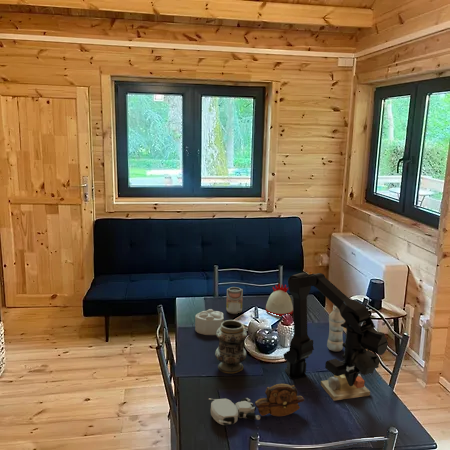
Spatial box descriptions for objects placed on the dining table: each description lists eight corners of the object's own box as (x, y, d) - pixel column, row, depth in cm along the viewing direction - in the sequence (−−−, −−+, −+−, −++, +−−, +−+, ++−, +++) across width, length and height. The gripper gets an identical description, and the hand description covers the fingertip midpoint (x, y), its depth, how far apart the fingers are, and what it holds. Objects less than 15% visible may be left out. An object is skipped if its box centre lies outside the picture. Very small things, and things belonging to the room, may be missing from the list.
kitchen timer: (290, 318, 218) (292, 289, 215) (263, 314, 222) (264, 286, 219) (294, 308, 232) (295, 280, 228) (268, 304, 235) (269, 278, 232)
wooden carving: (258, 423, 139) (259, 394, 137) (253, 414, 143) (254, 386, 141) (305, 414, 144) (307, 387, 142) (299, 406, 148) (301, 379, 146)
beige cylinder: (242, 315, 220) (243, 292, 218) (225, 315, 220) (226, 292, 218) (242, 308, 229) (242, 286, 227) (226, 308, 229) (226, 286, 227)
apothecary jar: (252, 367, 172) (253, 324, 168) (231, 379, 163) (232, 334, 160) (229, 356, 180) (230, 315, 176) (208, 367, 171) (209, 324, 168)
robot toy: (248, 404, 150) (205, 409, 145) (249, 392, 149) (207, 396, 144) (261, 427, 138) (216, 432, 134) (263, 414, 138) (217, 419, 133)
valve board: (333, 400, 151) (335, 383, 150) (320, 384, 161) (321, 368, 160) (369, 395, 155) (371, 378, 154) (354, 380, 164) (356, 363, 163)
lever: (364, 387, 148) (365, 380, 147) (356, 388, 147) (356, 381, 147) (347, 370, 158) (348, 364, 158) (339, 371, 158) (340, 365, 157)
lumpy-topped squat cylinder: (223, 335, 199) (223, 317, 197) (194, 334, 198) (194, 317, 197) (223, 325, 209) (223, 308, 207) (195, 325, 209) (195, 307, 207)
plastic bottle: (343, 354, 183) (347, 309, 179) (326, 352, 185) (329, 307, 181) (342, 347, 190) (345, 303, 185) (326, 345, 191) (329, 302, 187)
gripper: (349, 359, 134) (345, 405, 137) (394, 347, 142) (389, 391, 145) (325, 344, 144) (322, 387, 147) (368, 333, 152) (365, 374, 155)
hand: (350, 385), depth 148 cm, fingers closed
